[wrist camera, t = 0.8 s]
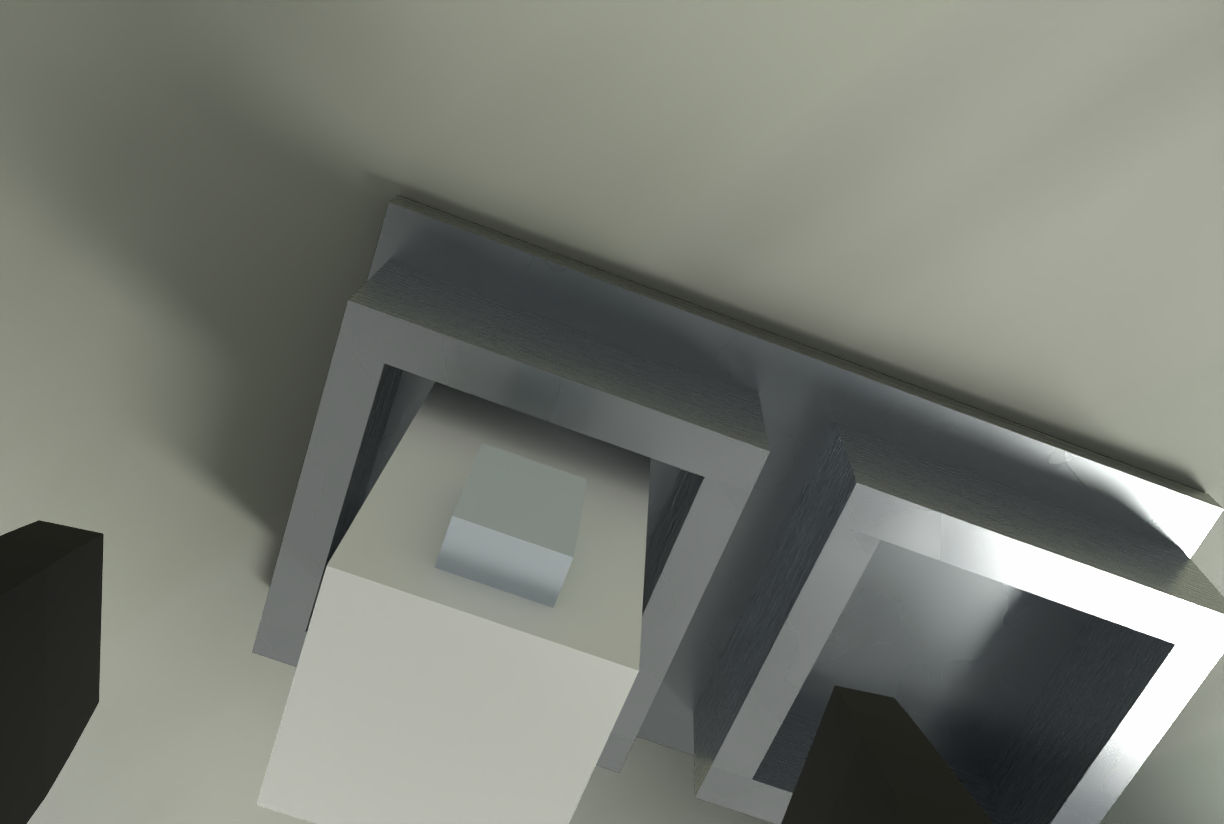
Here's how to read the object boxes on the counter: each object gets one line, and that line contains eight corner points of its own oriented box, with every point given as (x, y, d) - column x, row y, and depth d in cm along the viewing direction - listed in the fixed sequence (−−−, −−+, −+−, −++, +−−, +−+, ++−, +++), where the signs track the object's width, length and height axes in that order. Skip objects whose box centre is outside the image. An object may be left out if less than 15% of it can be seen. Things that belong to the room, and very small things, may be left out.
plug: (580, 609, 21) (537, 893, 14) (388, 544, 21) (256, 804, 14) (667, 400, 19) (662, 619, 13) (458, 326, 19) (342, 510, 12)
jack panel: (981, 832, 23) (1022, 948, 21) (283, 600, 22) (227, 690, 19) (1208, 494, 20) (1293, 578, 17) (397, 195, 19) (348, 234, 16)
